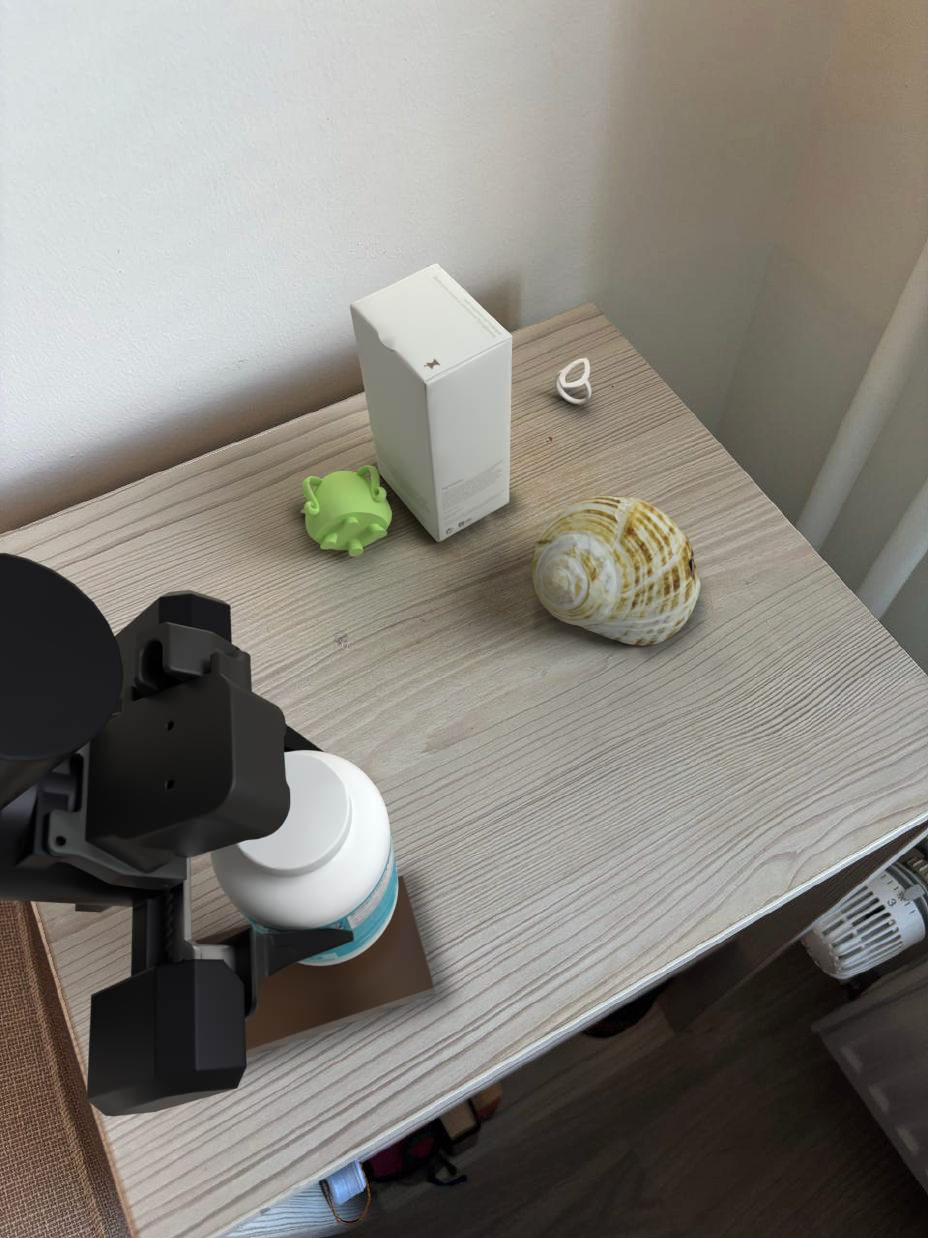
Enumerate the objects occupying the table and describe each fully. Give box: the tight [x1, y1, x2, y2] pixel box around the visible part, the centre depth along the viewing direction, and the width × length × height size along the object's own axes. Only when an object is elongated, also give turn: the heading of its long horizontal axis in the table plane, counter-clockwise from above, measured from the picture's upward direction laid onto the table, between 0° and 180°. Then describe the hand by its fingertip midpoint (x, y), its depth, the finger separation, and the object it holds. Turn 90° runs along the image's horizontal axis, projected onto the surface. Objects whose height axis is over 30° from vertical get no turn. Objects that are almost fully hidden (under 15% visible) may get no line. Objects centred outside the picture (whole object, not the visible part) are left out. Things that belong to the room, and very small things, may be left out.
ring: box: [553, 357, 593, 406], centre depth 69 cm, size 2×3×3 cm
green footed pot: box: [300, 464, 393, 557], centre depth 62 cm, size 6×5×6 cm
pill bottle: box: [209, 750, 399, 966], centre depth 41 cm, size 8×7×14 cm
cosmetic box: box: [349, 263, 514, 543], centre depth 59 cm, size 8×7×16 cm
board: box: [193, 874, 437, 1059], centre depth 49 cm, size 12×6×2 cm, turn 108°
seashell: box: [531, 495, 701, 646], centre depth 59 cm, size 10×10×10 cm
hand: (339, 851), depth 41 cm, fingers closed on pill bottle, 7 cm apart
